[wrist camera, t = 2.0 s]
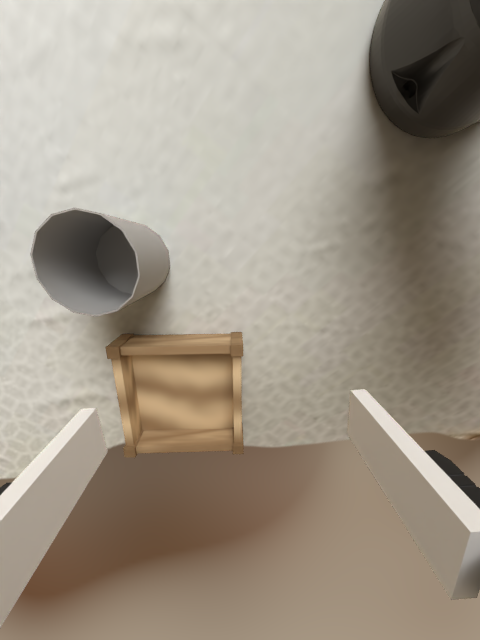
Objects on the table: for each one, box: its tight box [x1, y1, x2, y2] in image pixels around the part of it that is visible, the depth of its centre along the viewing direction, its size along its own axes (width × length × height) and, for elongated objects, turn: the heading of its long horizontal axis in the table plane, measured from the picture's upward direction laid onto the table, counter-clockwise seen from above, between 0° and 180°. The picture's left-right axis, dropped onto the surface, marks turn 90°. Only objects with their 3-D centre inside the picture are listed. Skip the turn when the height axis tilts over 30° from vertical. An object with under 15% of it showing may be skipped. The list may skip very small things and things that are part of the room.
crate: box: [106, 332, 243, 457], centre depth 32 cm, size 15×15×4 cm
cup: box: [30, 208, 170, 316], centre depth 24 cm, size 8×8×10 cm
